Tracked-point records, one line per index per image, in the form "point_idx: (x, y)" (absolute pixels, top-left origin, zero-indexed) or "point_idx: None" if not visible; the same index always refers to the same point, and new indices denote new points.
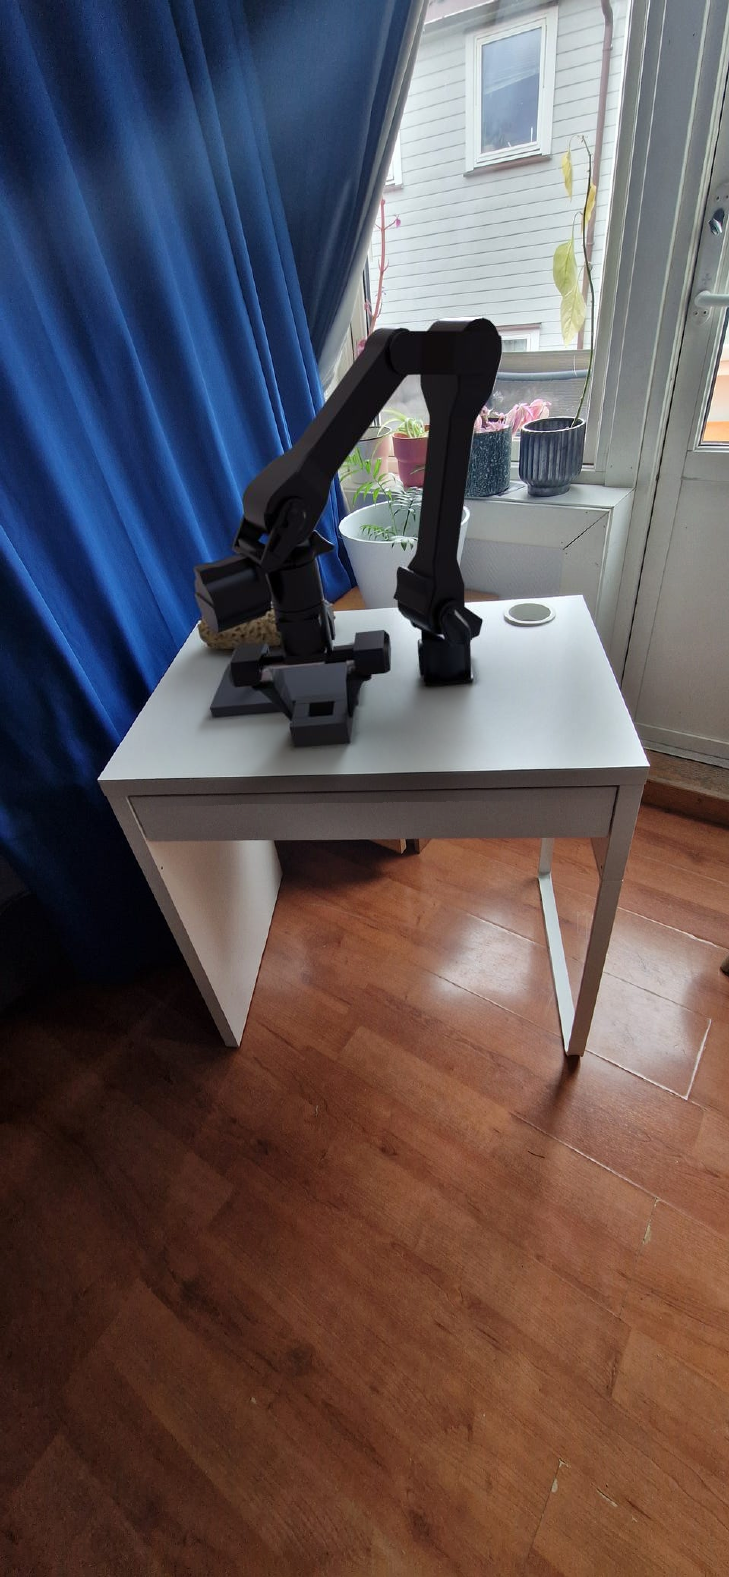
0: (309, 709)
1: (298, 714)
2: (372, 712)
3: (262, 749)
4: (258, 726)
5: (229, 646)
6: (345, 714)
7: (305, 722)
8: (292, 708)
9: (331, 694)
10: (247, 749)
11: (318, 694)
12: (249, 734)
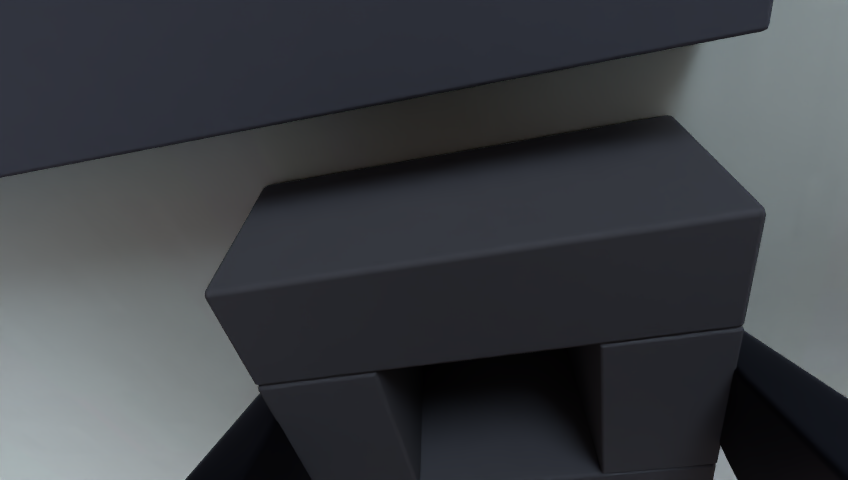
0: (390, 382)
1: (349, 471)
2: (826, 119)
3: (214, 434)
4: (46, 293)
5: None
6: (699, 467)
7: None
8: (286, 475)
9: (556, 268)
10: (141, 436)
11: (333, 39)
12: (55, 353)
